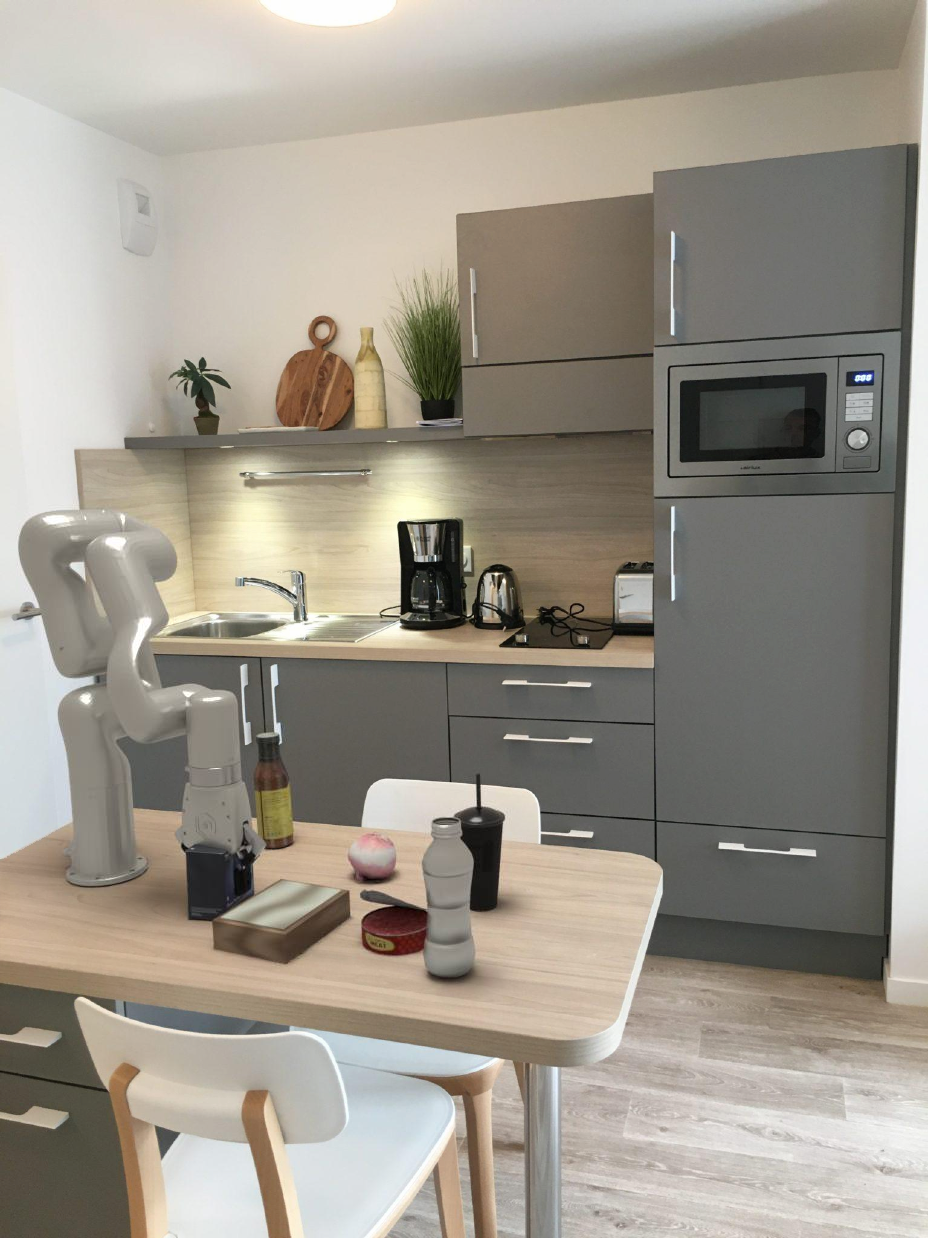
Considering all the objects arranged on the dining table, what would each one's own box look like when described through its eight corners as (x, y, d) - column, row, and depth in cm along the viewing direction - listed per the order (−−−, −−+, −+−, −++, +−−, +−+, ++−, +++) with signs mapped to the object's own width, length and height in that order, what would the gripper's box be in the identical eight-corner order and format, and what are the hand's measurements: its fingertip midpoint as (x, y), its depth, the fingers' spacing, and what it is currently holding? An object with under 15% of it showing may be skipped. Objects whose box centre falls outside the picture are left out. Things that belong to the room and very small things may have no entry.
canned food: (362, 970, 140) (343, 899, 143) (428, 948, 144) (408, 879, 146) (380, 965, 130) (359, 889, 133) (451, 941, 134) (429, 868, 137)
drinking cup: (514, 899, 151) (512, 769, 149) (494, 918, 144) (491, 783, 142) (468, 891, 155) (465, 765, 152) (447, 910, 148) (443, 778, 145)
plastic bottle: (422, 962, 131) (417, 814, 129) (474, 959, 132) (470, 812, 130) (424, 986, 125) (419, 831, 123) (478, 982, 126) (474, 828, 123)
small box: (227, 922, 145) (224, 853, 144) (186, 920, 147) (182, 850, 145) (257, 894, 156) (253, 829, 154) (218, 892, 157) (214, 827, 156)
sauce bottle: (301, 841, 179) (296, 732, 177) (277, 852, 174) (271, 740, 172) (274, 835, 183) (268, 729, 180) (249, 846, 178) (243, 736, 175)
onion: (403, 878, 163) (409, 841, 161) (369, 897, 158) (375, 860, 155) (369, 853, 168) (374, 818, 165) (334, 871, 162) (339, 835, 159)
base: (213, 948, 137) (212, 918, 137) (282, 904, 151) (281, 877, 151) (286, 963, 132) (285, 932, 132) (350, 916, 146) (349, 888, 146)
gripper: (152, 775, 149) (159, 890, 151) (247, 786, 142) (254, 907, 144) (186, 762, 156) (192, 872, 158) (278, 773, 148) (284, 888, 151)
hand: (222, 888), depth 151 cm, fingers closed on small box, 7 cm apart
